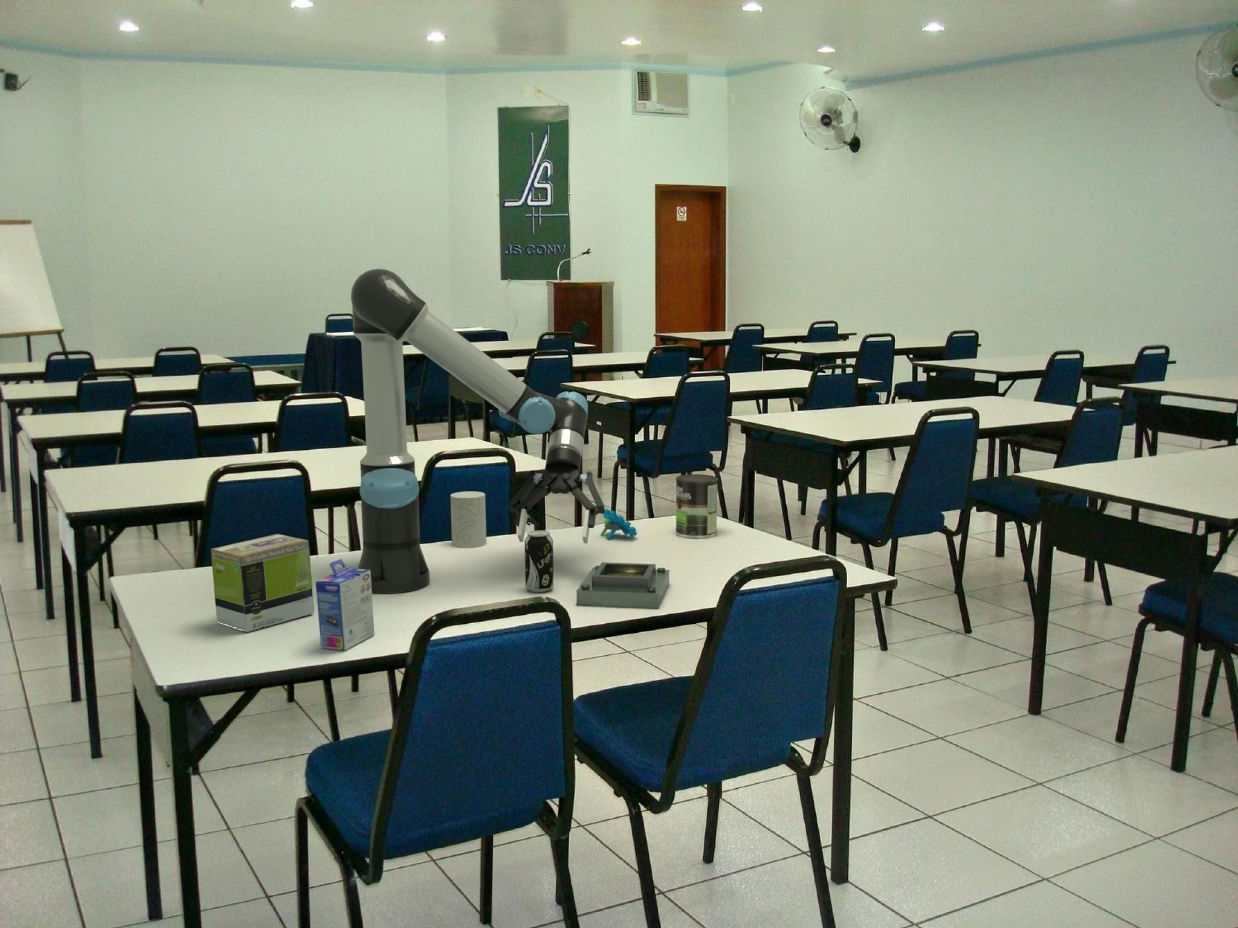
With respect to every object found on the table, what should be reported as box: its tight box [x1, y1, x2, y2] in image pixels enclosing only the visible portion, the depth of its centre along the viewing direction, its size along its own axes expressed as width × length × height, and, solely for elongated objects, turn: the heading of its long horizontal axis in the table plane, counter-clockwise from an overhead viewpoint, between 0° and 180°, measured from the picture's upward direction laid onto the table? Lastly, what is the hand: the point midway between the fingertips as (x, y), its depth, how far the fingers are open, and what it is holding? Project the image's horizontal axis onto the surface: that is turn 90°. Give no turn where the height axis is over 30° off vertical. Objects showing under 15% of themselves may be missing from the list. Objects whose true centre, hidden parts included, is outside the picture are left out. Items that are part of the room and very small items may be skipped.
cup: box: [450, 490, 487, 549], centre depth 276 cm, size 8×8×12 cm
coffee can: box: [675, 473, 719, 540], centre depth 285 cm, size 10×10×14 cm
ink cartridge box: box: [315, 558, 375, 652], centre depth 203 cm, size 10×6×14 cm, turn 160°
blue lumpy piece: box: [600, 508, 638, 541], centre depth 281 cm, size 11×6×10 cm
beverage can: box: [524, 530, 554, 593], centre depth 235 cm, size 6×6×12 cm
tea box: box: [210, 533, 315, 633], centre depth 216 cm, size 15×10×15 cm
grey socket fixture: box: [576, 561, 670, 610], centre depth 232 cm, size 18×16×5 cm
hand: (552, 539), depth 240 cm, fingers open, 13 cm apart
